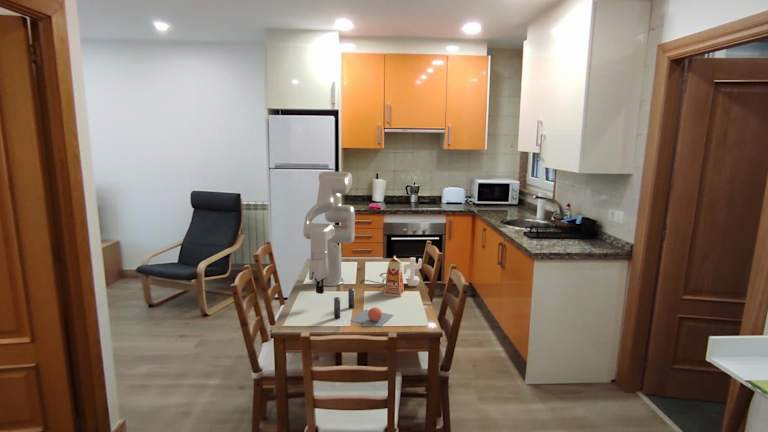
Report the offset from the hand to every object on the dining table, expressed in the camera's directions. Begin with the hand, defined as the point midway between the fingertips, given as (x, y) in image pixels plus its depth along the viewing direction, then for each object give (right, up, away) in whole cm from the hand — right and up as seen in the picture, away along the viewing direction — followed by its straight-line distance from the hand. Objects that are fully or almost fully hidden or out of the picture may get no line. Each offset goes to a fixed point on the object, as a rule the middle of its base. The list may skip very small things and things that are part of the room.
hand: (319, 292), depth 205 cm
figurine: (+45, -2, +35) cm, 57 cm away
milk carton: (+35, -4, +22) cm, 41 cm away
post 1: (+9, -9, -11) cm, 17 cm away
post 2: (+14, -7, +1) cm, 16 cm away
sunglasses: (+27, -1, +40) cm, 48 cm away
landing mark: (+25, -9, -11) cm, 28 cm away
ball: (+26, -7, -14) cm, 30 cm away
